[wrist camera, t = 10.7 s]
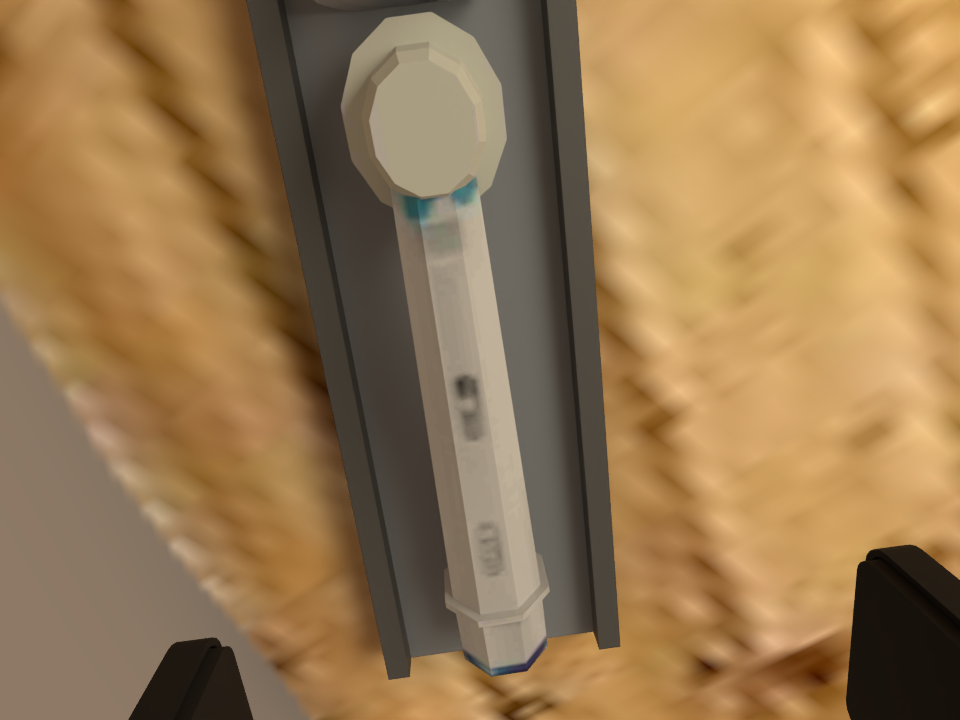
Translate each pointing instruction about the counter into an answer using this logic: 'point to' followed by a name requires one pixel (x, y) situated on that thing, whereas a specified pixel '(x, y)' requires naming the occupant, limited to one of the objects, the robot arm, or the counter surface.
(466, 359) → the white electric toothbrush
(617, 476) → the counter surface
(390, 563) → the pipe jig board
